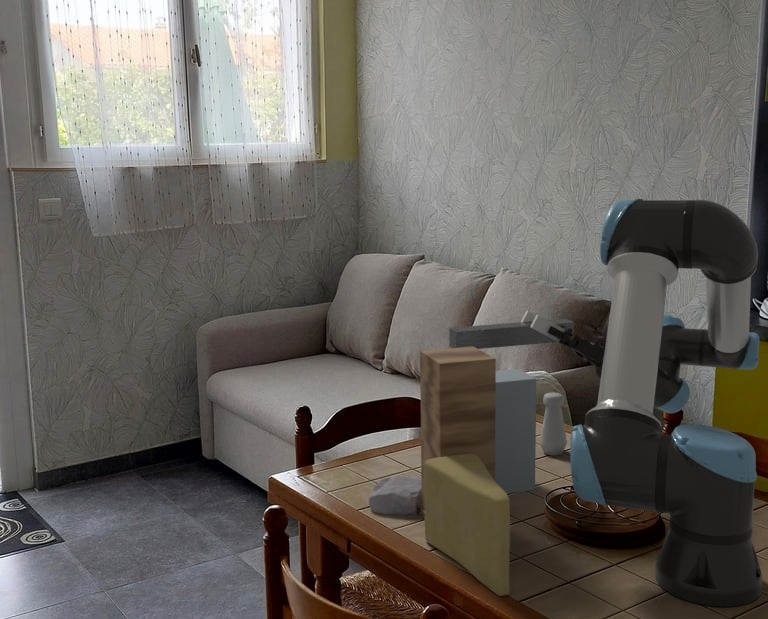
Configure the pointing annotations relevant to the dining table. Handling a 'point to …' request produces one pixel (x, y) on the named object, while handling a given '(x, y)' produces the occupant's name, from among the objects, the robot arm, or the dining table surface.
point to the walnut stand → (457, 406)
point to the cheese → (469, 517)
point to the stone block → (397, 495)
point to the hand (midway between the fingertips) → (529, 319)
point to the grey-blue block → (515, 431)
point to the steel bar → (502, 335)
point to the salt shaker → (553, 425)
